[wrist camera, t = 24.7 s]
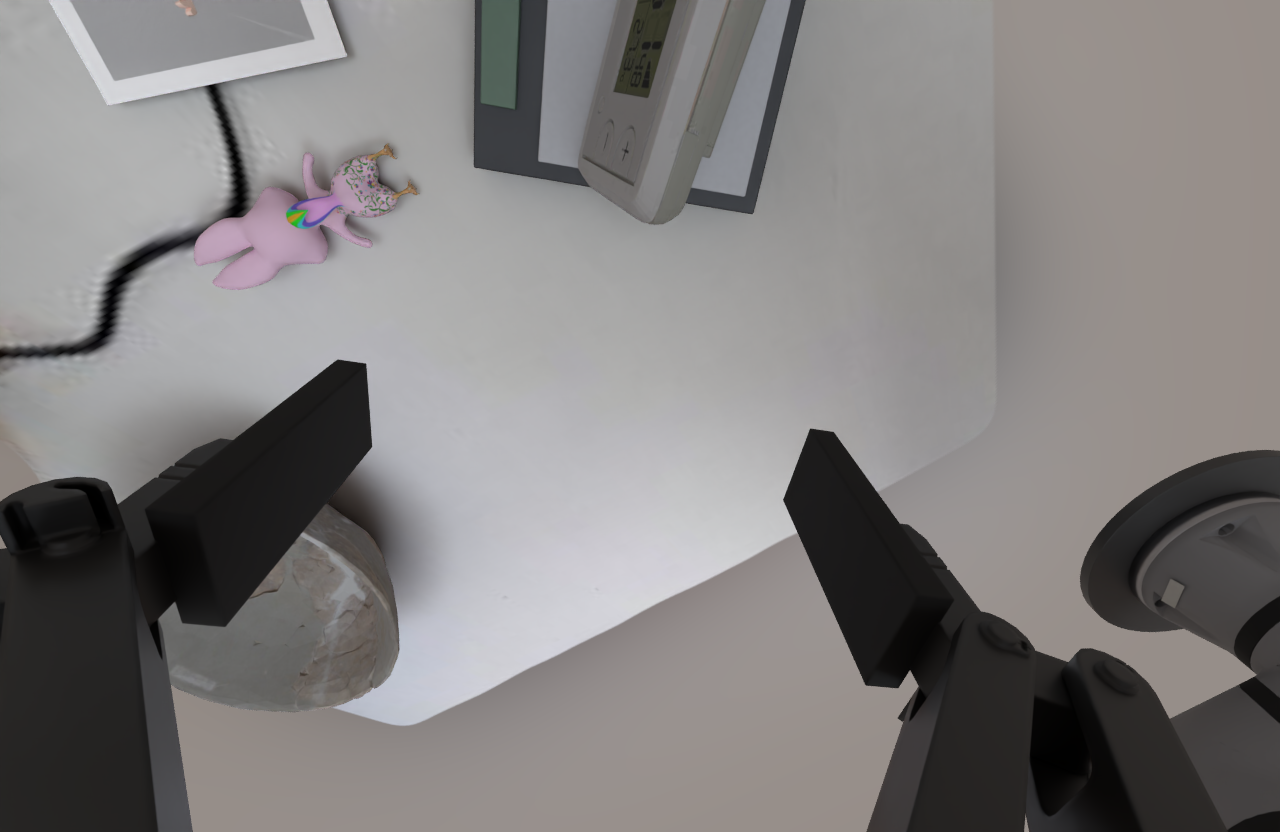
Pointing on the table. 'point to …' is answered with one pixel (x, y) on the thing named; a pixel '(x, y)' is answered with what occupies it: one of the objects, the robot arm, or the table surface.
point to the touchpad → (194, 41)
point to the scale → (565, 83)
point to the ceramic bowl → (297, 629)
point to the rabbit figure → (296, 223)
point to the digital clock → (663, 99)
